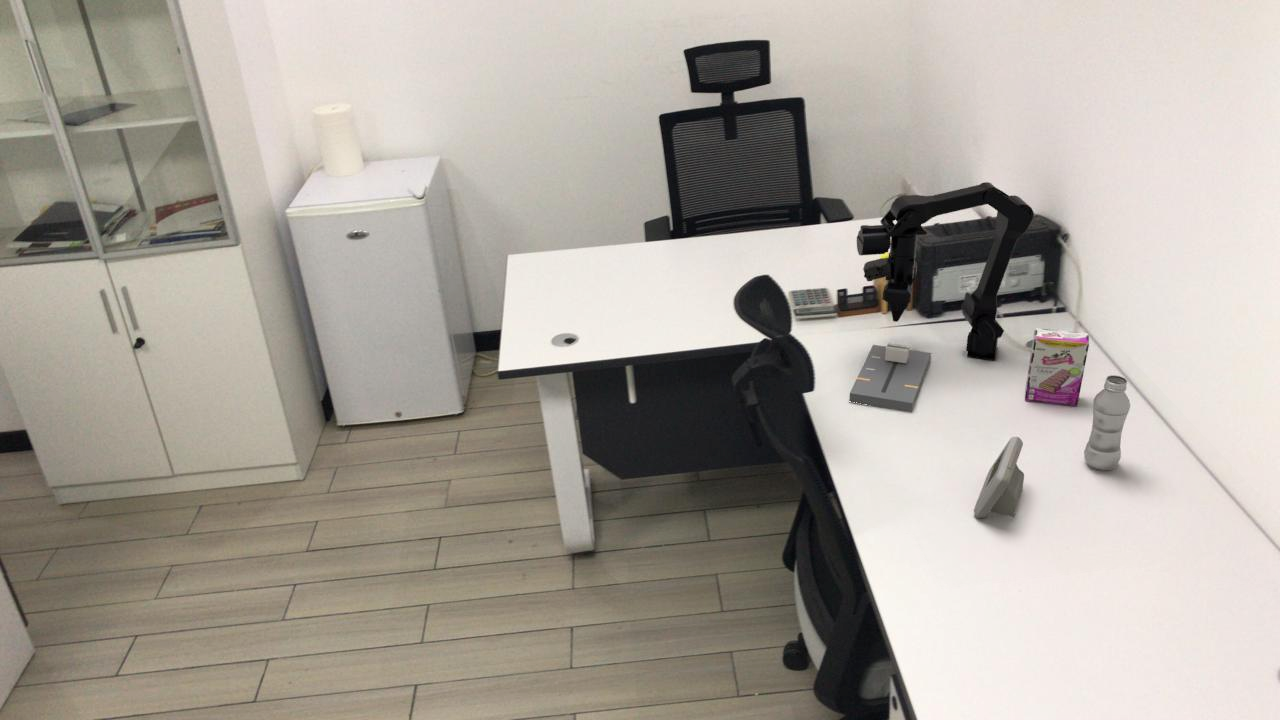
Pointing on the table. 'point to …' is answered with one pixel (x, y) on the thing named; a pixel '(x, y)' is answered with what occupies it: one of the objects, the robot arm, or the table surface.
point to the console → (890, 380)
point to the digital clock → (1002, 483)
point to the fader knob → (897, 353)
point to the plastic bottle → (1107, 424)
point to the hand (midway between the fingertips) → (897, 312)
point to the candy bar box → (1056, 367)
